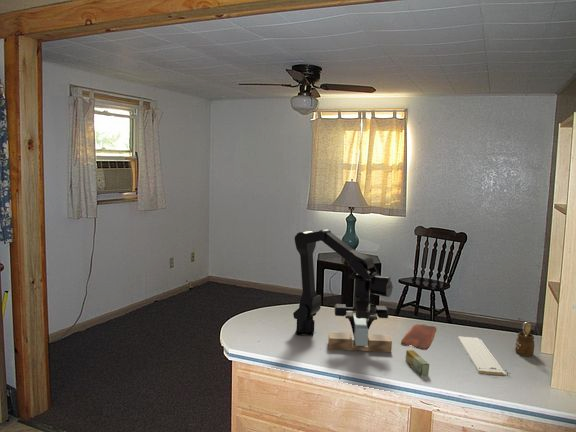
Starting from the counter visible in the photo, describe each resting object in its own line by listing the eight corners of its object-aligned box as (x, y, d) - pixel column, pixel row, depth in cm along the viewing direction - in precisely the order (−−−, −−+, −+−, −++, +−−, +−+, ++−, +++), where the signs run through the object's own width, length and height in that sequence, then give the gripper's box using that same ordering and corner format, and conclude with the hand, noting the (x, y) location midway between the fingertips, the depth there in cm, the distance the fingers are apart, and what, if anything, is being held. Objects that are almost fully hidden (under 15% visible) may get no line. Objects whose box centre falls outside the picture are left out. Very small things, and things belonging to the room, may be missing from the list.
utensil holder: (532, 351, 170) (535, 319, 169) (534, 358, 164) (538, 325, 163) (514, 349, 172) (517, 317, 171) (516, 355, 166) (519, 322, 165)
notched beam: (328, 349, 167) (329, 338, 166) (328, 342, 173) (328, 332, 172) (391, 352, 166) (391, 341, 165) (388, 345, 172) (389, 335, 171)
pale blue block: (352, 330, 176) (353, 315, 175) (363, 331, 176) (364, 315, 175) (355, 345, 162) (356, 328, 161) (367, 346, 162) (368, 329, 161)
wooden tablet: (427, 352, 169) (427, 347, 168) (399, 346, 173) (399, 341, 173) (439, 329, 192) (439, 325, 192) (414, 324, 197) (415, 320, 196)
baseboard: (484, 341, 180) (457, 340, 181) (485, 334, 179) (458, 332, 181) (510, 377, 150) (478, 374, 151) (511, 369, 150) (478, 366, 151)
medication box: (429, 376, 148) (430, 364, 148) (421, 376, 148) (422, 364, 147) (412, 360, 160) (413, 349, 160) (404, 360, 160) (405, 349, 159)
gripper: (336, 297, 159) (334, 341, 161) (392, 299, 158) (389, 344, 160) (335, 288, 170) (333, 329, 172) (387, 290, 169) (384, 332, 171)
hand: (359, 333), depth 169 cm, fingers closed on pale blue block, 4 cm apart
